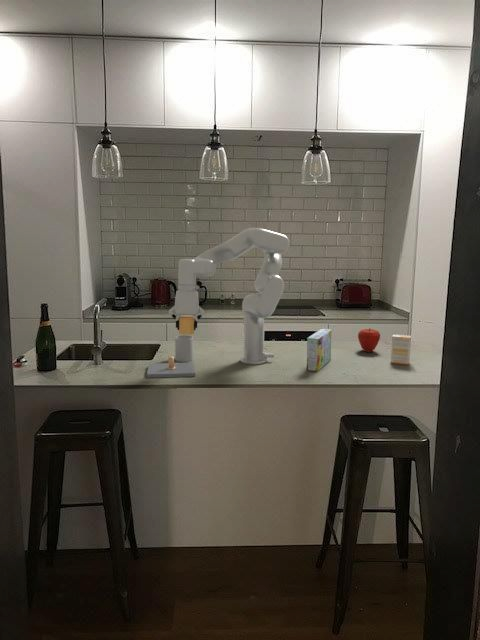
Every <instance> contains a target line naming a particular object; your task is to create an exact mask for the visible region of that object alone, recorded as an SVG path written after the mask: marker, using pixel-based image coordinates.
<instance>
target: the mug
mask: <svg viewBox="0 0 480 640" xmlns="http://www.w3.org/2000/svg"><path fill="white" fill-rule="evenodd" d="M174 341H175V342H174V346H175V347H174V349H175V350H174V352H175V355H174V361H175V362H177V363H191V362H193V361H194V336H192V335H187V334H180V335H176V336H175V338H174ZM192 360H193V361H192Z"/></svg>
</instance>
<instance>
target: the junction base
mask: <svg viewBox="0 0 480 640" xmlns="http://www.w3.org/2000/svg"><path fill="white" fill-rule="evenodd" d="M195 369H196V366H195V362H175V356H172V355H171V356H168V362H165V363H163V362H159V363H149V364H148V367H147V371H146V378H147V379H151V378H185V377H186V378H187V377H188V378H191V377H193V376H194V377H196V370H195Z"/></svg>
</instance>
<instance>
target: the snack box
mask: <svg viewBox="0 0 480 640" xmlns="http://www.w3.org/2000/svg"><path fill="white" fill-rule="evenodd" d="M331 360H332V329H330V328H329V329H328V328H320V329H319V330H317V331H316V332H314V333H313V334H311V335H310V336H308V337H307V338H306V371H311V372H319V371H320V370H322V368H323V367H324V366H325V365H327V364H328V363H329V362H330V361H331Z"/></svg>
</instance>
